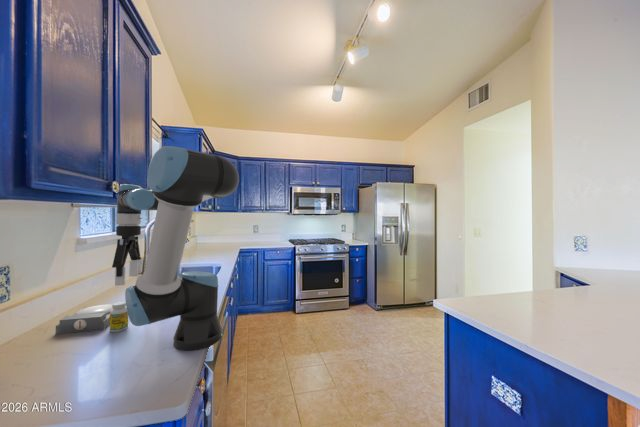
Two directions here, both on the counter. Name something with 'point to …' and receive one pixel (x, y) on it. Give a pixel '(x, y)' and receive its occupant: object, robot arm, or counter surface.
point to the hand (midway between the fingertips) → (127, 280)
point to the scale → (86, 320)
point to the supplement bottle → (118, 317)
